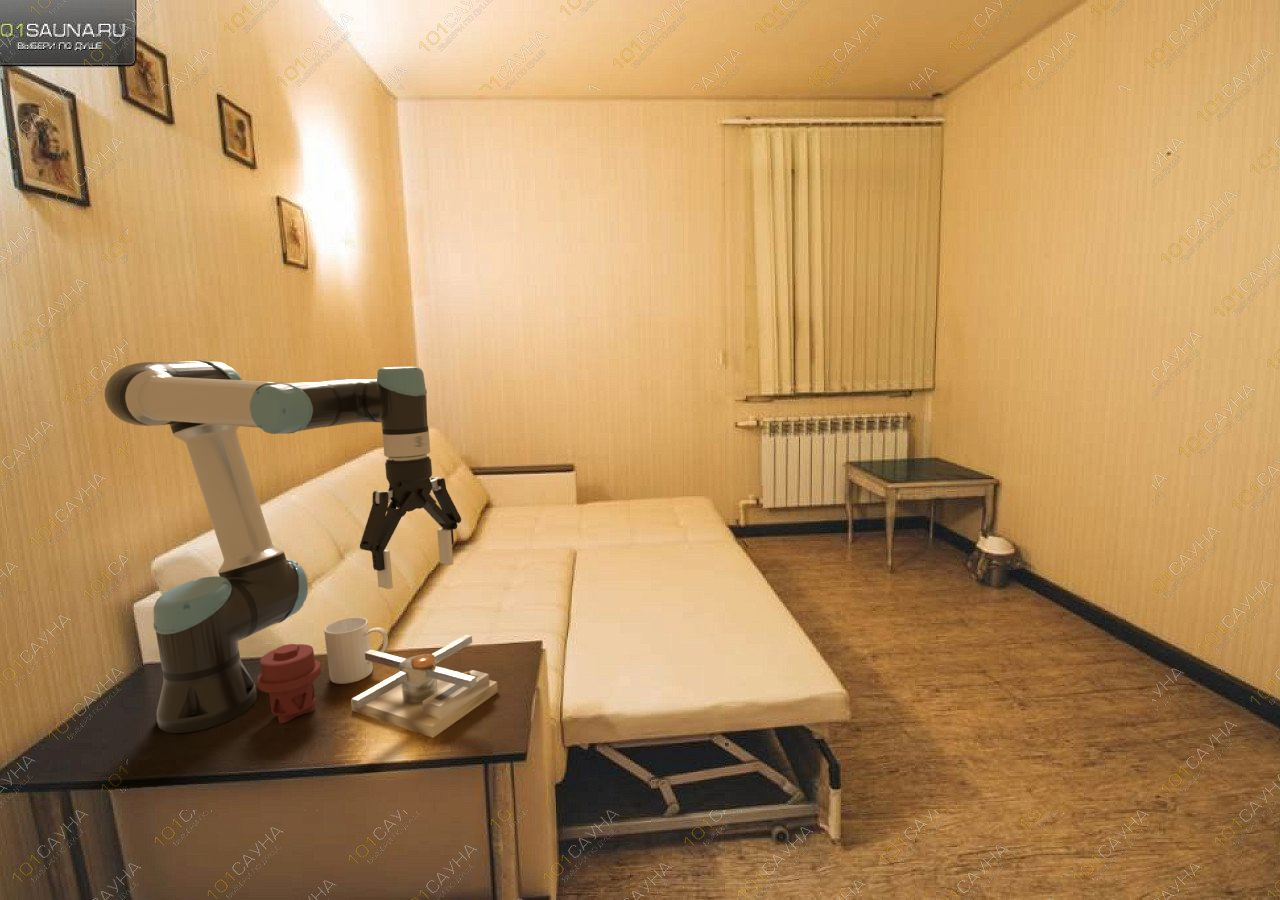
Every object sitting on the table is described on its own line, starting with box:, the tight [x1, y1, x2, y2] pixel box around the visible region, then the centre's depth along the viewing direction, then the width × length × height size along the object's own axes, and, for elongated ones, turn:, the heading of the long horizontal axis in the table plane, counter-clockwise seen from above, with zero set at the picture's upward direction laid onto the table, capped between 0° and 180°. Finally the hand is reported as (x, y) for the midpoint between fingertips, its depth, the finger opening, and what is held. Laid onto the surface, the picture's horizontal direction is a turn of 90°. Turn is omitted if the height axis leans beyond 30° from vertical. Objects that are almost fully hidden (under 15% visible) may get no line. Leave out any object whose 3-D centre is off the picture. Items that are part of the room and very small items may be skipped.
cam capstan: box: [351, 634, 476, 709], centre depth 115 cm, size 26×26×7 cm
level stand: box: [350, 665, 498, 738], centre depth 118 cm, size 20×16×6 cm
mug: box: [323, 616, 389, 685], centre depth 129 cm, size 12×8×10 cm, turn 84°
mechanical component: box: [256, 643, 322, 724], centre depth 115 cm, size 12×10×10 cm
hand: (417, 575), depth 115 cm, fingers open, 13 cm apart
